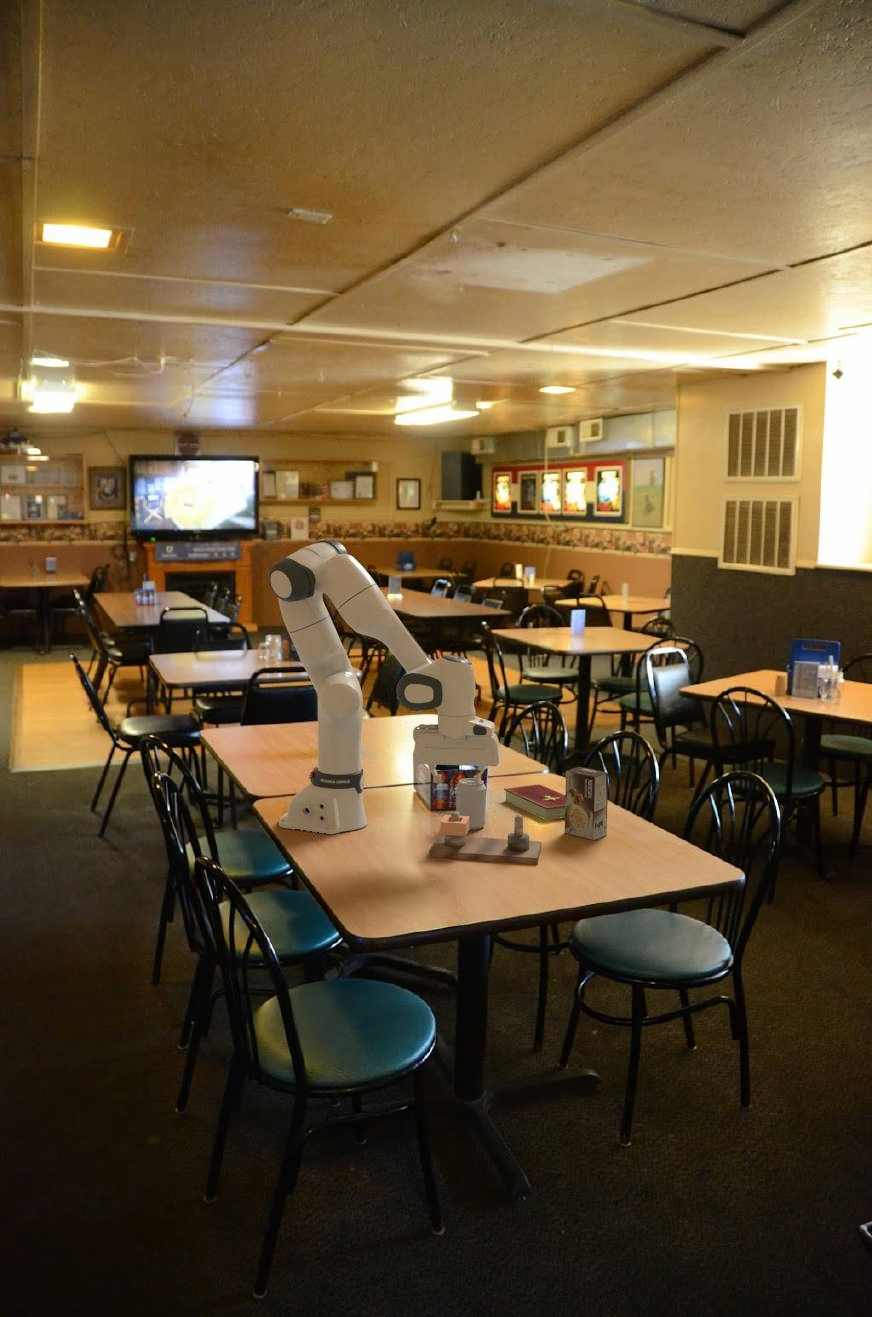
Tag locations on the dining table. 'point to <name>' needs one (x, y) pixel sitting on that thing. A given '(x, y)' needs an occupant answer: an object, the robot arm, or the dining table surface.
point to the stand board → (488, 846)
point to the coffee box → (586, 803)
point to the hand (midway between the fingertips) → (457, 783)
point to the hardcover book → (537, 800)
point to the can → (471, 802)
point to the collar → (454, 826)
